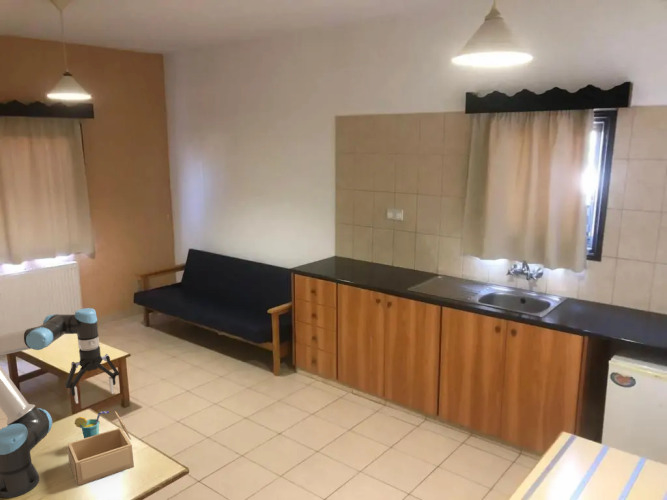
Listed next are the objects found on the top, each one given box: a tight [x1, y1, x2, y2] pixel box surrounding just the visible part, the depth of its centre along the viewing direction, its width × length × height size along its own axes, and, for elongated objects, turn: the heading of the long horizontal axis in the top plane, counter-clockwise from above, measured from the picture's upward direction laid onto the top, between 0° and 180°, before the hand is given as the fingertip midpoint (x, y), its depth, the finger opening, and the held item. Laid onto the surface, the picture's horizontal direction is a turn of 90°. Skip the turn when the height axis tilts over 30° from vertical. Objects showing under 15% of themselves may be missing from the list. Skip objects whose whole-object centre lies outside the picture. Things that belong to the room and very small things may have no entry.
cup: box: [74, 411, 109, 439], centre depth 236 cm, size 14×8×15 cm, turn 113°
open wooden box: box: [66, 427, 135, 487], centre depth 221 cm, size 22×18×10 cm
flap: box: [114, 411, 132, 441], centre depth 224 cm, size 8×14×1 cm
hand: (94, 397), depth 216 cm, fingers open, 13 cm apart
